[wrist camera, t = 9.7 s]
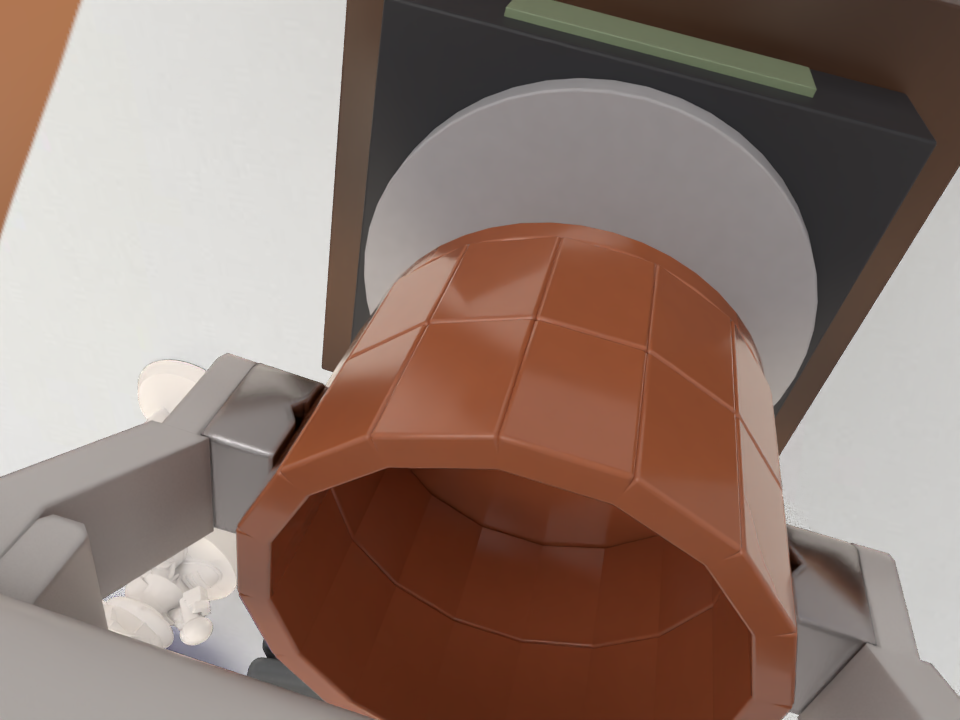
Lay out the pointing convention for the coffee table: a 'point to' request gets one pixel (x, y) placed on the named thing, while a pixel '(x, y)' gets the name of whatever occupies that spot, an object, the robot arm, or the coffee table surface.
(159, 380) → the figurine
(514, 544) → the bowl
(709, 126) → the scale
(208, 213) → the coffee table surface
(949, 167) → the wooden block
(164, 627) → the character figurine
